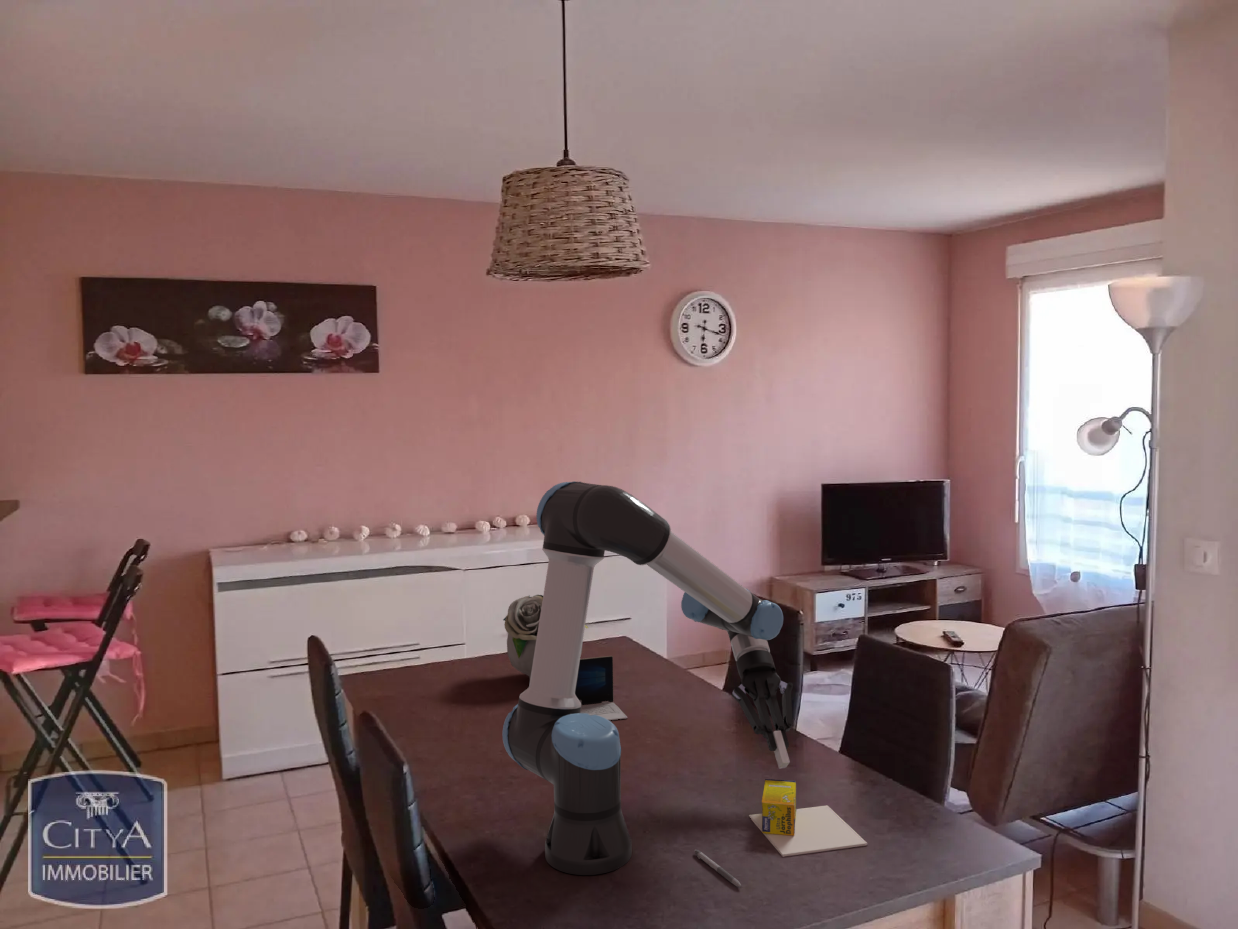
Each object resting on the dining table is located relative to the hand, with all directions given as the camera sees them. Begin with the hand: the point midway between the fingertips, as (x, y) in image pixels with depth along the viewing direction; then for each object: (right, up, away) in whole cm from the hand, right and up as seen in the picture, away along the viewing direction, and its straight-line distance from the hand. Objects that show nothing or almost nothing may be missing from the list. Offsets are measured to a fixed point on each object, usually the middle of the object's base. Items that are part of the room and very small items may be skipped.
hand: (784, 765), depth 184 cm
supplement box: (-1, -5, -1) cm, 5 cm away
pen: (-15, -11, -24) cm, 30 cm away
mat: (+2, -9, -10) cm, 13 cm away
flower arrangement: (-53, -3, +85) cm, 100 cm away
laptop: (-40, -5, +55) cm, 68 cm away
